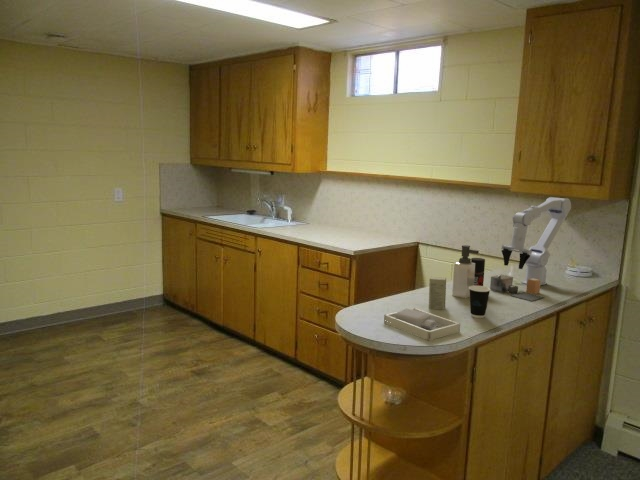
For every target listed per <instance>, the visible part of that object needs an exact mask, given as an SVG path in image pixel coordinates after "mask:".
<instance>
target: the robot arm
mask: <svg viewBox="0 0 640 480" xmlns="http://www.w3.org/2000/svg"><path fill="white" fill-rule="evenodd" d="M571 209H572V202H571V200H570V199H569V198H567V197H566V198H561V197H555V196H554V197H553V196H550V197H548V198H546V200H545V201H544V202H542V203H541V204H539V205H537V206H536V205H531V206H530V207H528V208H527V209H523V211H521V212H520V211H517V212H516V213H515V214H514V215H513V216H512V224H513V225H512V226H513V229H512V230H513V231H512V235H511V236H512V237H511V241H510V245H505V244H502V245H501V247H500V248H501V254H502V256H503V257H502V258H503V266H507V267H508V265H509V263H510V257H511V255H512V253H513V252H515V253H519V263H518V270H523V268H524V266H525V265H526V270H525V271H526V273H525V280H523V281H521V284H525V285H527V279H531V278H534V279H538V280H541V282H540V286H543V285H547V284H548V282H546V280H547V268H546V265H548V263H549V262H548V261H549V258H550V256H551V255H550V252H549V250H548V249H549V248H550V246H551V244H552V243H553V240H554V239H555V237H556V235H557V234H558V232H559V230H560V228H561V227H562V225H563V223H564V222H565V219H566V218H567V216H568V215H569V212H570V211H571ZM545 212H548V215H549V216H550V217H551V219H550V220H549V222H548V224H547V225H546V228H545V229H544V230H543V232H542V234H541V235H540V238H539V239H538V241H537V243H536V244H534V245H532V246H530V247H529V249H528V248H527V249H526V248H524V247H525V241H526V237H527V230H528V226H530V225H531V223H532V222H533V221H534V220H535V219H538V218H540V217H541V215H542V213H545Z"/></svg>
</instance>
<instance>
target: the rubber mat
mask: <svg viewBox="0 0 640 480" xmlns="http://www.w3.org/2000/svg"><path fill="white" fill-rule="evenodd" d="M510 297H511V298H512V297H513V298H516V299H519V300H525V301H528V302H535V301H540V300H543V299H545V298H546V297H545V296H541V295H538V294H531V293H527V292H526V291H522V292H518V294H511V295H510Z"/></svg>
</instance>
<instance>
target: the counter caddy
mask: <svg viewBox="0 0 640 480" xmlns="http://www.w3.org/2000/svg"><path fill="white" fill-rule="evenodd" d="M410 309H411V310H416V311H420V312H424V313H428V314H430V316H431V317H430V320H433V321H436V322H437V324H439V325H440V326H439V327H437V328H434V329H432V330H428V329H425V328H424V329H423V328H420V327H418V326H415V325H412V324H410V323H407V322H404V321H402V320H399V319H396V318H395V314H396V313H397V312H398V311H396V312H391V313H387V314H384V315H383V324H386V325H389V326H391V327H394V328H396V329H399V330H401V331H404V332H406V333H409V334H411V335H414V336H417V337H419V338H420V339H424V340H427V341H428V342H429V341H432V340H436V339H439V338H442V337H446V336H451V335H453V334H457V333H460V332H461V323H459V322H456V321H454V320H450V319H448V318H445V317H442V316H439V315H437V314H434V313H430V312H427V311H425V310H422V309H419V308H416V307H414V308H413V307H412V308H410ZM385 320H386V321H385ZM387 321H388V322H387ZM390 322H391V323H390Z"/></svg>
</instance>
